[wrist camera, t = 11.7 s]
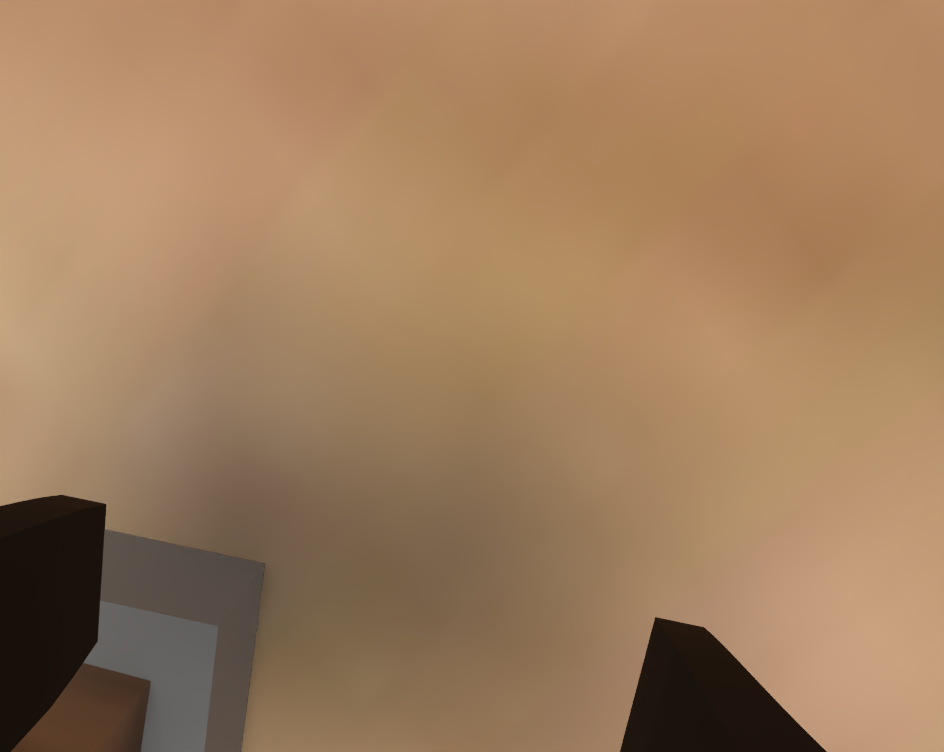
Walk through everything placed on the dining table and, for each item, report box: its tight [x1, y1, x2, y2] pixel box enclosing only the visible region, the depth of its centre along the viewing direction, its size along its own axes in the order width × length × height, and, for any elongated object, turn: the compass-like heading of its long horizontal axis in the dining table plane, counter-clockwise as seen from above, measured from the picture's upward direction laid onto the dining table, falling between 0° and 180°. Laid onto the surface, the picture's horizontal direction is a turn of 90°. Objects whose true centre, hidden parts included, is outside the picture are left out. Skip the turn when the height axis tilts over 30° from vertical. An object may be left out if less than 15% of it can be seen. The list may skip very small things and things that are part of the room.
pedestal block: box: [83, 530, 265, 752], centre depth 21 cm, size 7×7×4 cm
